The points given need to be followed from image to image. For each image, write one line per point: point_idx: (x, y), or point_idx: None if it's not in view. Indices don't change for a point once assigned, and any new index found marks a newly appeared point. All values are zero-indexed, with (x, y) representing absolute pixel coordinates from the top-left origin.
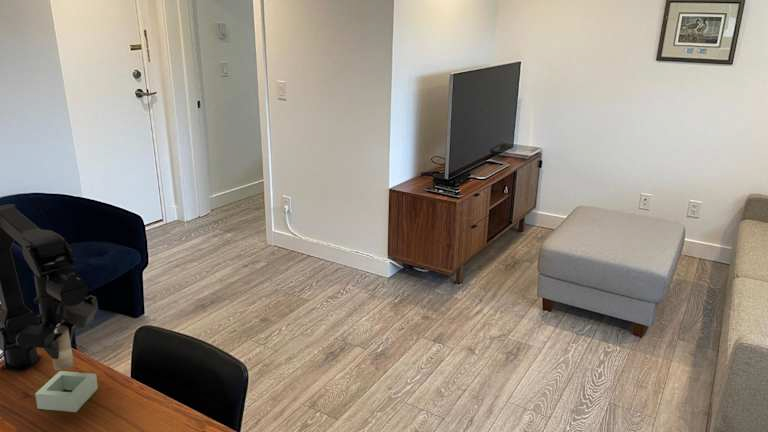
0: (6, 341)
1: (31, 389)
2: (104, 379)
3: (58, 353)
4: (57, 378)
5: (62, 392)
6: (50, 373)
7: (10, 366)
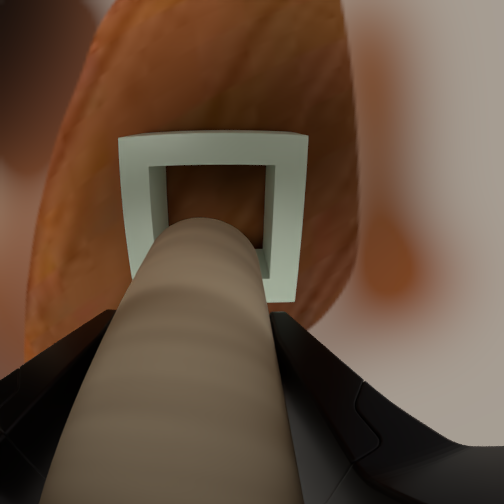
0: None
1: None
2: (85, 148)
3: (283, 334)
4: None
5: (278, 203)
6: None
7: None
